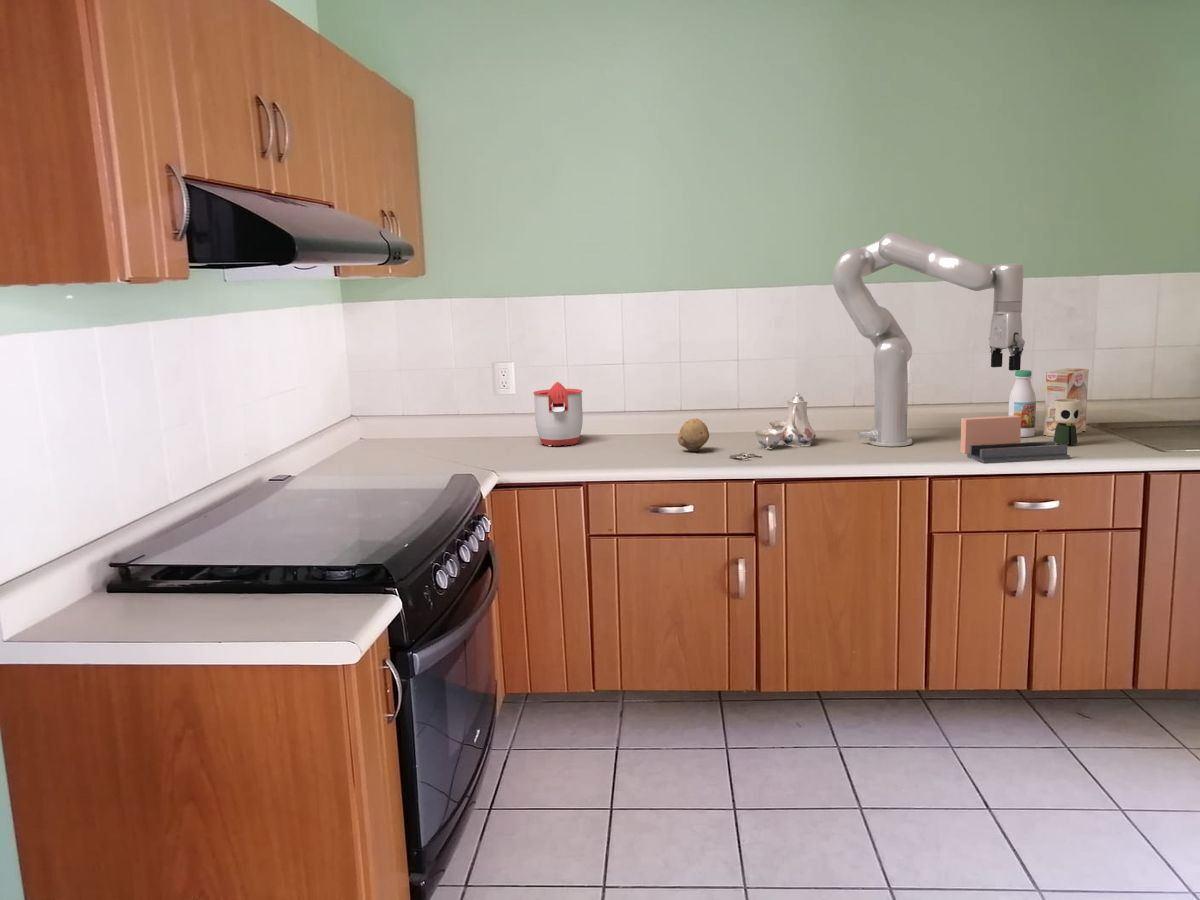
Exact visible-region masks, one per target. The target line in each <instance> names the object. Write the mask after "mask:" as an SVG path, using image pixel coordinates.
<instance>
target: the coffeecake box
mask: <svg viewBox="0 0 1200 900" xmlns="http://www.w3.org/2000/svg"><path fill="white" fill-rule="evenodd" d="M1089 370H1090V369H1088V368H1078V367H1077V368H1075V367H1074V368H1073V367H1067V368H1062V369H1056V370H1052V371H1047V372H1045V373H1046V376H1045V397H1044V400H1045V401H1044V415H1043V417H1044V419H1043V435H1042V436H1044V435H1046V436H1045V437H1054V434H1055V429H1056V426H1057V424H1058V423H1057V422H1054V421H1053V418H1048V407H1053V403H1054V400H1056V399H1076V400H1080V401H1081V405H1080V406H1085V407H1086V410H1087V409H1088V408H1087V407H1088V389H1089ZM1080 414H1082V409H1080ZM1051 415H1053V410H1051ZM1074 425H1075V426H1076V433H1078V434H1081V433H1083V432H1082V431H1085V432H1086V430H1087V429H1086V426H1087V411H1086V412H1085V417H1080V420H1079V422H1077V423H1074ZM1080 432H1081V433H1080Z"/></svg>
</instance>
